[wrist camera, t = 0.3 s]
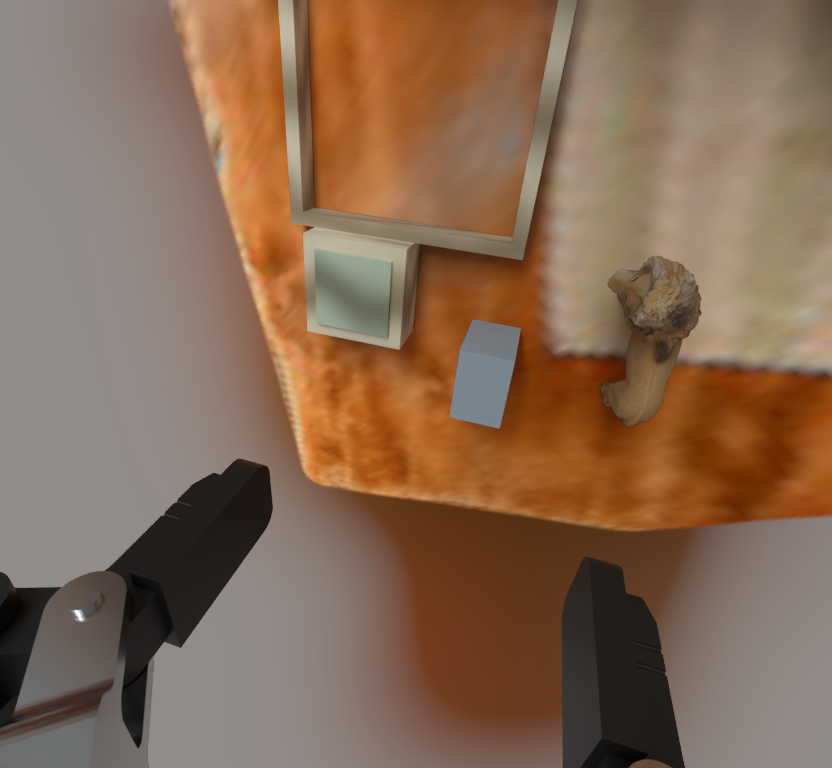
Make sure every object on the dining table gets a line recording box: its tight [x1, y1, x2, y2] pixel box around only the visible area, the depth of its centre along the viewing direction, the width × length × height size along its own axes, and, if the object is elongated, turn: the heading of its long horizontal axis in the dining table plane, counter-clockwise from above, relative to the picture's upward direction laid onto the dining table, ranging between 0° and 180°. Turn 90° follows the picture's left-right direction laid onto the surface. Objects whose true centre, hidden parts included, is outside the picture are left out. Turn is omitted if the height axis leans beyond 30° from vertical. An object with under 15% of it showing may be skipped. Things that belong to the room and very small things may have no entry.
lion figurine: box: [600, 256, 701, 426], centre depth 31 cm, size 15×5×9 cm, turn 10°
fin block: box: [450, 319, 521, 429], centre depth 36 cm, size 6×4×6 cm, turn 175°
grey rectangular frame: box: [278, 0, 578, 350], centre depth 31 cm, size 26×18×4 cm
